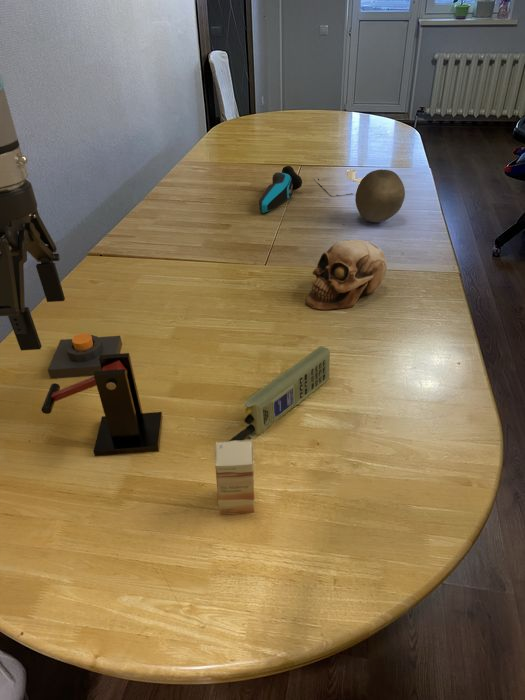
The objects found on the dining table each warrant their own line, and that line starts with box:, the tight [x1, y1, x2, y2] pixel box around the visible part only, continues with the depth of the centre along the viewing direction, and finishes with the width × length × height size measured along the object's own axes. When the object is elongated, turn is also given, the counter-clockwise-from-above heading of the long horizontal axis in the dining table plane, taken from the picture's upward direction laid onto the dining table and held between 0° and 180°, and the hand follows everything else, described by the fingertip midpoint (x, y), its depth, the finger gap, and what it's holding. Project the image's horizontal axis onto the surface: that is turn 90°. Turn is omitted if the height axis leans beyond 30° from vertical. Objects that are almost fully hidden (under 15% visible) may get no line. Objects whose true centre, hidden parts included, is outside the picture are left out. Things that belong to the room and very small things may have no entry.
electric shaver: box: [258, 165, 303, 214], centre depth 169 cm, size 9×26×10 cm
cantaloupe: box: [354, 168, 406, 223], centre depth 150 cm, size 14×14×15 cm
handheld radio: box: [228, 346, 331, 441], centre depth 86 cm, size 7×3×25 cm
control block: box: [47, 334, 123, 380], centre depth 101 cm, size 12×10×4 cm
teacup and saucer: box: [345, 168, 362, 183], centre depth 184 cm, size 9×8×4 cm
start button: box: [71, 333, 93, 351], centre depth 99 cm, size 4×4×2 cm
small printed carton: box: [214, 439, 255, 515], centre depth 70 cm, size 5×4×10 cm
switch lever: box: [40, 360, 127, 415], centre depth 78 cm, size 13×6×2 cm, turn 95°
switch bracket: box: [92, 352, 163, 457], centre depth 80 cm, size 10×8×15 cm
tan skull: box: [304, 239, 388, 311], centre depth 117 cm, size 16×17×13 cm
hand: (44, 323), depth 79 cm, fingers open, 13 cm apart
